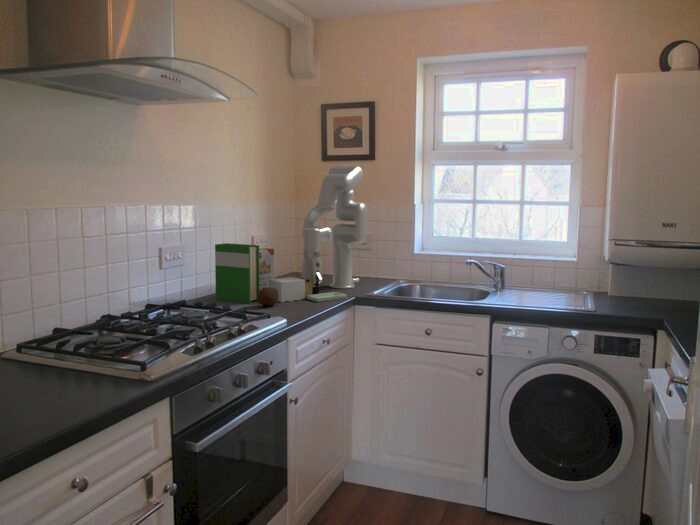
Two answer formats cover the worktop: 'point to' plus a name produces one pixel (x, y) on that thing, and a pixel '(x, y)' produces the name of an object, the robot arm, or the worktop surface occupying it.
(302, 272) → the robot arm
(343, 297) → the tray
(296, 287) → the notched white block
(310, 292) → the tan wooden brick
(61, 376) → the worktop surface
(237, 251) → the hardback book
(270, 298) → the potato
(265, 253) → the cracker box
